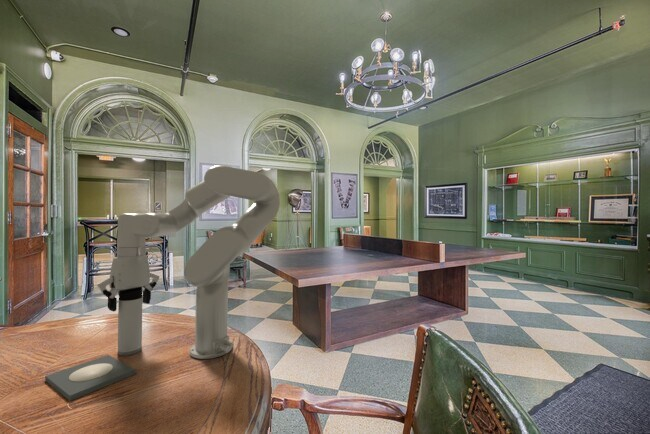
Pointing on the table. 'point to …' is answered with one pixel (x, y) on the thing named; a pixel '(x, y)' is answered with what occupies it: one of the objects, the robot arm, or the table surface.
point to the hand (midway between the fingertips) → (130, 306)
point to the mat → (89, 376)
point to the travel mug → (130, 321)
